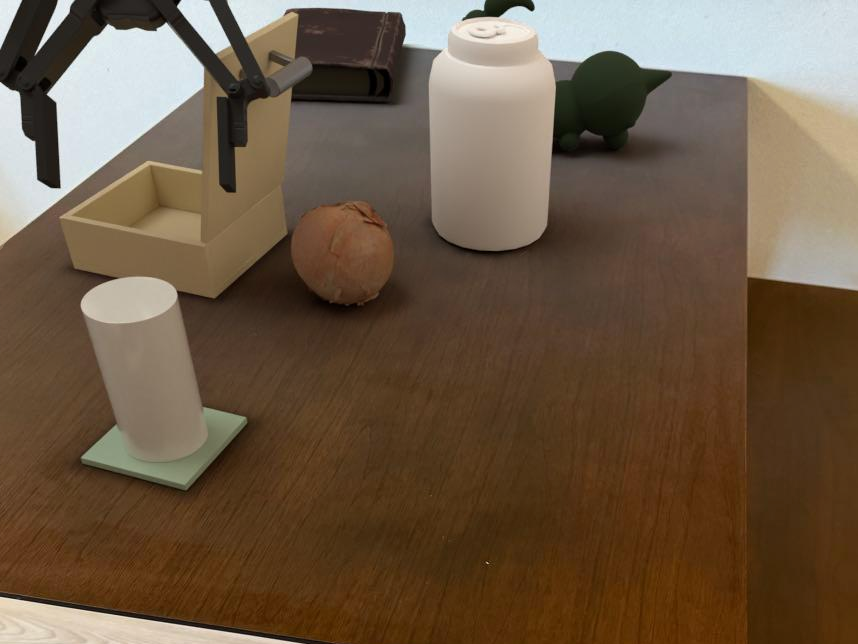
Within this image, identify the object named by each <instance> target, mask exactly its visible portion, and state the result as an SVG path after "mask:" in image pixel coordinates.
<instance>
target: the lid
mask: <svg viewBox="0 0 858 644" xmlns="http://www.w3.org/2000/svg"><path fill="white" fill-rule="evenodd" d="M297 25H298V14H296V13H294V12H290V13H288V14H287V15H285V16H283V15H282V16H281V17H279V18H278V19H276V20H274V21H272V22H270V23H269V24H267V25H264V26H263V27H261V28H259V29H258V30H256V31H254V32H252V33H251V34H248V35H247V36H244V37H245V39H246V41H247V43H248V45H249V47H250V49H251V51H252V53H253V55H254V57H255V59H256V61H257V63H258V65H259V67H260V69H261V71H262V73H263V75H264V77H265V79H266V81H267V83H268V85H269V87H270V90H271V93H270V96H269V97H268V98H266V99H261V98H259V99H256V100H253V101H251V102H250V103H249V105H248V107H247V123H248V142H247V145H246V147H235V169H236V193H227V192H226V191H225V190H224V189H223V188H222V187H221V186H220V185H219V161H218V129H217V97H227V98H228V95H227V94H226V93H225V92H224V91H223V89H222V88H221V87H220V86H219V85H218V83H217V82H216V81H215V80H214V79H213V77H212V76H211V75H210V74H209V73H208V71H207V70H206V69H205V68H204V67H203V97H202V98H203V99H202V100H203V102H202V103H203V104H202V143H201V144H202V148H201V152H202V153H201V171H202V190H201V238H200V241H201V242H204V243H206V244H207V243H209V242H210V241H211V240H212V239H214V238H215V237H216V236H217V235H219V234H220V233H221V232H222V231H224V230H225V229H226V228H227V227H229V226H230V225H231V224H232V223H234V222H235V221H236V220H237V219H239V218H240V217H241V216H242V215H244V214H245V213H246V212H247V211H249V210H250V209H251V208H252V207H254V206H255V205H256V204H257V203H259V202H260V201H261V200H262V199H264V198H265V197H266V196H267V195H268V194H270V193H271V192H272V191H273V190H275V189H276V188H277V187H278V186H280V185H281V186H282V184H284V183H285V172H286V161H287V149H288V139H289V127H290V116H291V114H290V113H291V103H292V102H291V101H292V99H291V94H292V87H293V86H294V85H295V84H297V83H298V82H300V81H301V80H303V79H304V78H306V77H307V76H309V75H310V74H311V73H312V64H311V62H310V61H309V60H308V59H307V58H305V57H299V58H297V59H295V48H296V36H297ZM215 54H216V55H217V56H218V58H219V59H220V60H221V61H222V62H223V64H224V65H225V66H226V67H227V68H228V70H229V71H230V72H231V73H232V75H233V76H234V77H235V78H236V79H237V80H238V81H240V80H243V79H246V78H247V76H246V74H245V72H244V70H243V68H242V66H241V64H240V62H239V60H238V58H237V56H236V54H235V52H234V50H233V48H232V46H231V45H229V46H226V47H225V48H223V49H221V50H220V51H217V52H215Z"/></svg>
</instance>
